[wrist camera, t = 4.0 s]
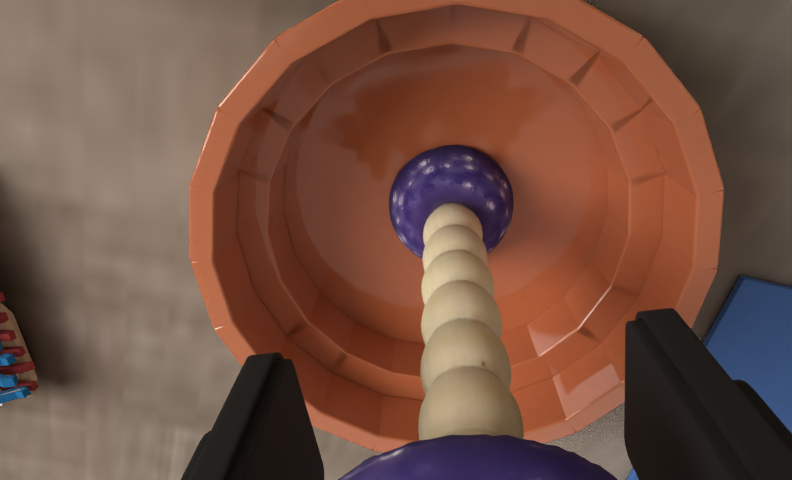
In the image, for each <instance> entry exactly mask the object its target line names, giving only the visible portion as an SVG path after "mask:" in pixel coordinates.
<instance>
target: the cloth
mask: <svg viewBox="0 0 792 480" xmlns="http://www.w3.org/2000/svg"><path fill="white" fill-rule="evenodd" d="M703 344H704V346H705V347H706V348H707V349H708V351H709V352H710V353H711V354H712V355H713V357H714V358H715V359H716V360H717V362H718V363H719V364H720V365H721V366H722V368H723V369H724V370H725V371H726V373H727V374H728V375H729V376H730V378H731V379H732V380H738V379H740V380H743V381H745V382H747V383H748V384H749V385H750V386H751V387H752V388H753V389H754V390H755V391H756V392H757V393H758V395H759V396H760V397H761V398H762V399H763V400H764V402H765V403H766V404H767V405H768V406H769V407H770V409H771V410H772V411H773V412H774V413H775V414H776V416H777V417H778V418H779V419H780V420H781V422H782V423H783V424H784V425H785V426H786V427H787V429H788V430H789V431H790V432H791V433H792V287H789V286H785V285H780V284H776V283H771V282H767V281H763V280H758V279H754V278H749V277H745V276H739V278H738V280H737V282H736V284H735V285H734V287H733V289H732V291H731V293H730V294H729V296H728V298H727V300H726V302H725V303H724V305H723V307H722V309H721V311H720V312H719V314H718V316H717V318H716V320H715V321H714V323H713V325H712V327H711V329H710V330H709V332H708V334H707V336H706V338H705V339H704V341H703ZM627 480H639V479H638V477H637V475H636V472H635V470H634V468H633V469H632V471H631V472H630V474H629V476H628V478H627Z"/></svg>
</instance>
